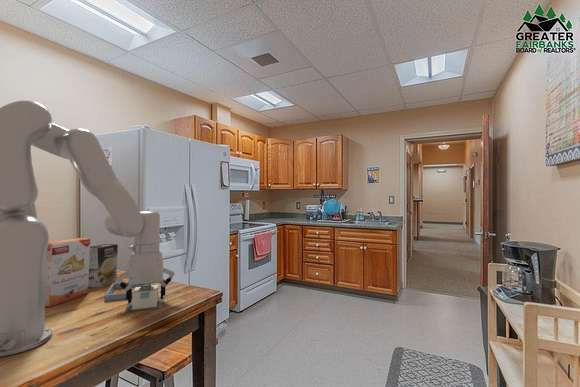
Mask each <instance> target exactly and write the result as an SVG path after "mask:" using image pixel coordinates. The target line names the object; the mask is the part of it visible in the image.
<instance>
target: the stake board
mask: <svg viewBox="0 0 580 387" xmlns="http://www.w3.org/2000/svg"><path fill="white" fill-rule="evenodd" d="M150 288H151V285H142V286H141V289H142V292H143V291H150ZM132 302H133V299H132V301H131V303H128V302H127V305H126V307H125V310H124V312H123V313H124V314H130V313H137V312H145V311H151V310H154V311H155V310H158V309H159V310H160V309H164V306H165V296H163V299H161V296H158V302H157V307H150V308H142V309H135V310H132Z"/></svg>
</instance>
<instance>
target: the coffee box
mask: <svg viewBox="0 0 580 387" xmlns="http://www.w3.org/2000/svg"><path fill="white" fill-rule="evenodd" d="M118 247H119V245H118V244H116V243H114V244H113V243H104V244H98V245H92V246H91V245H90V256H89V279H88V288H89V287H90V288H97V289H98V288H101V287H104V286H107V285H110V284H113V283H117V280H116V278H117V277H118V275H117V274H118V252H119V251H118Z"/></svg>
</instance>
